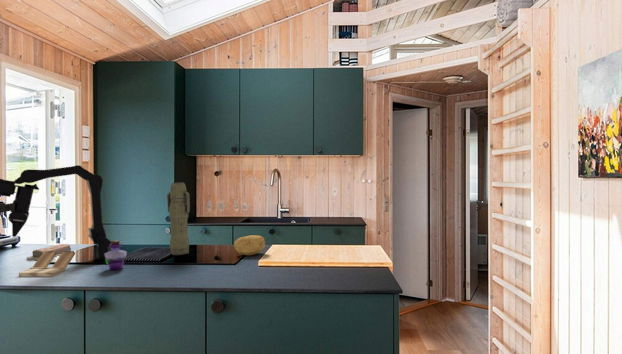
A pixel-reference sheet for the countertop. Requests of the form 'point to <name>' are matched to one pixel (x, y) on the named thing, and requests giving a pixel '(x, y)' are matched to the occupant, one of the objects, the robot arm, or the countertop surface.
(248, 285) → the countertop surface
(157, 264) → the countertop surface
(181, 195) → the olive stone statue
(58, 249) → the packaged product
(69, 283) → the countertop surface
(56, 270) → the pine floorboard strip
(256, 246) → the potato
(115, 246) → the potion bottle
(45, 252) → the outer oak plank
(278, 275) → the countertop surface
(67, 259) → the inner oak plank
